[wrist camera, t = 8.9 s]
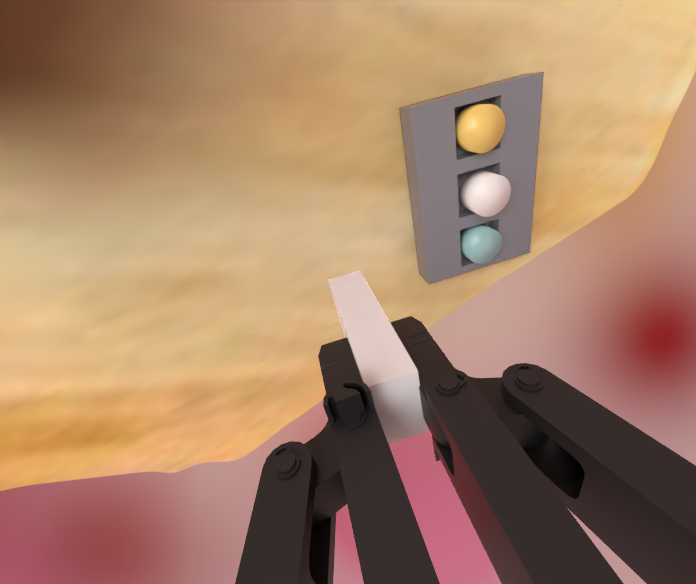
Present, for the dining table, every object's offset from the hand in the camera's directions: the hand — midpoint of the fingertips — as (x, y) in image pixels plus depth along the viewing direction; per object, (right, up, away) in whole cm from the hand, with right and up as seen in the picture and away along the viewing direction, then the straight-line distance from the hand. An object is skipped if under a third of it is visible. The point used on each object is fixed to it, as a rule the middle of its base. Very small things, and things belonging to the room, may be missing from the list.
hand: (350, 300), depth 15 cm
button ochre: (+13, +18, +20) cm, 30 cm away
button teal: (+16, +7, +27) cm, 32 cm away
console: (+14, +13, +25) cm, 31 cm away
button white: (+15, +12, +23) cm, 29 cm away
